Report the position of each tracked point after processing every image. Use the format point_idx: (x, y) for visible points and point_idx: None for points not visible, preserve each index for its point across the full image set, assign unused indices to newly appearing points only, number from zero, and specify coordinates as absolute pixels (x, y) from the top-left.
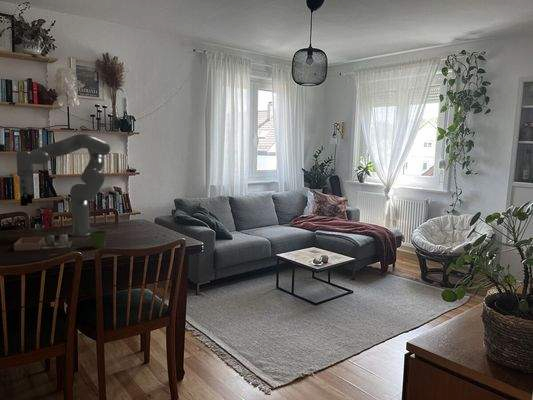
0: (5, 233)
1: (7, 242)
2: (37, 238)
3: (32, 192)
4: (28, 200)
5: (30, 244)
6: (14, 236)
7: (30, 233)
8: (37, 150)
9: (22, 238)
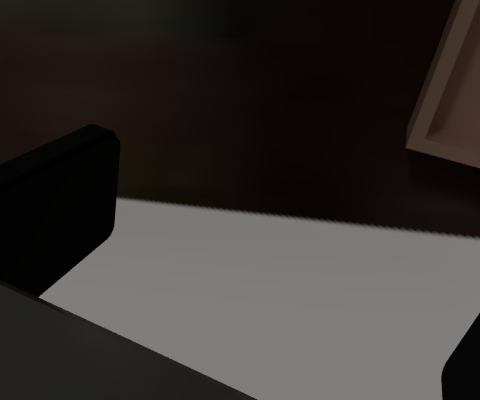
0: None
1: (276, 201)
2: (476, 3)
3: (30, 333)
4: (78, 219)
5: None
6: None
7: (36, 47)
8: None
9: (425, 137)
